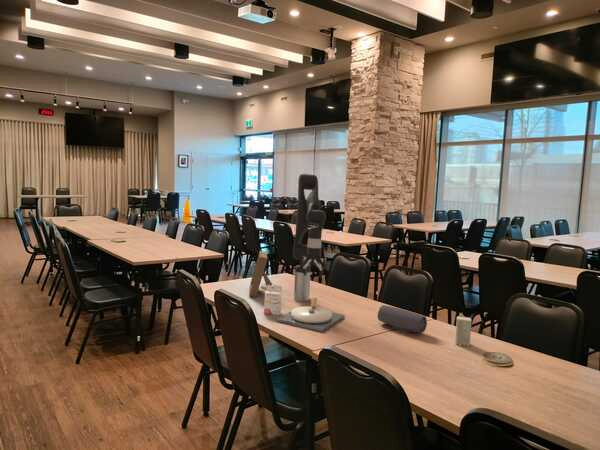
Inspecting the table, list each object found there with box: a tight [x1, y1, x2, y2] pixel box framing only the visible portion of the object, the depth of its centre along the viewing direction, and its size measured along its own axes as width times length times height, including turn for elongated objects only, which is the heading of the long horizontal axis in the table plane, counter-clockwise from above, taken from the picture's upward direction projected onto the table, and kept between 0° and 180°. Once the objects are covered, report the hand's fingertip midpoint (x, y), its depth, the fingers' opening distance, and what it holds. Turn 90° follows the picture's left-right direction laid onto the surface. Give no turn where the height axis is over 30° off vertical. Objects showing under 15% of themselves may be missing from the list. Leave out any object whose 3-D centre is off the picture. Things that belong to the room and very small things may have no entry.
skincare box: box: [454, 316, 472, 347], centre depth 189 cm, size 6×4×12 cm
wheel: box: [290, 297, 333, 323], centre depth 215 cm, size 21×21×7 cm
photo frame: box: [248, 250, 273, 298], centre depth 262 cm, size 15×22×25 cm
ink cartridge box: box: [263, 284, 282, 316], centre depth 223 cm, size 9×5×15 cm, turn 84°
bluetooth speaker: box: [377, 304, 428, 334], centre depth 206 cm, size 23×9×10 cm, turn 47°
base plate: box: [276, 305, 346, 333], centre depth 215 cm, size 26×26×2 cm
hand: (312, 276), depth 227 cm, fingers open, 8 cm apart
